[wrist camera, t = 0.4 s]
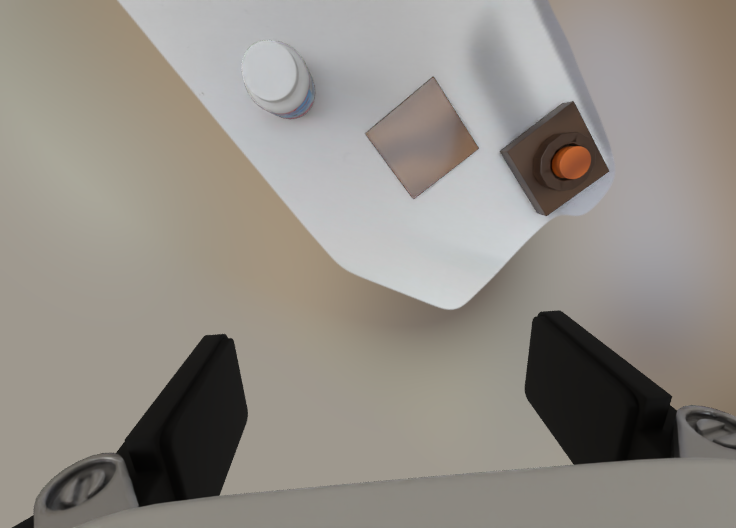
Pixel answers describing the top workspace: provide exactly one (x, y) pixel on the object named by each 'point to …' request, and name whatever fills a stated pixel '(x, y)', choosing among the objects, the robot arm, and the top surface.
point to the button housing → (536, 154)
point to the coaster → (422, 138)
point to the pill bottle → (278, 79)
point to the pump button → (571, 162)
